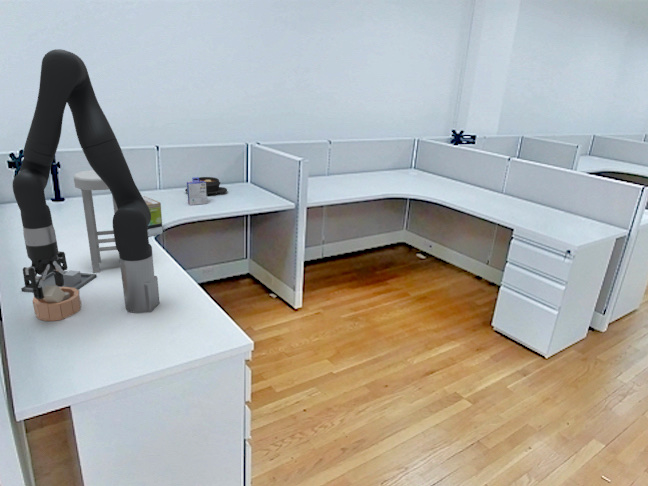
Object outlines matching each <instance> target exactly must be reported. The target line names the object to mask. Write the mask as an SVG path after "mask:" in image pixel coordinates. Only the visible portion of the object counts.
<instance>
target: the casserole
mask: <svg viewBox="0 0 648 486" xmlns="http://www.w3.org/2000/svg"><path fill="white" fill-rule="evenodd" d="M193 180H198V179H193ZM199 181H205V182H206V195H207V196H210V195H216V194H221V193H222V194H223V193H225V192H227V191H228V189H227V188H226V187H223V186H220V184H221V182H220V180H219V178H218V177H212V176H211V177H210V176H201V177H199ZM184 190H185V192H186V193H187V188H185V189H184Z"/></svg>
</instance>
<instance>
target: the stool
mask: <svg viewBox="0 0 648 486" xmlns="http://www.w3.org/2000/svg"><path fill="white" fill-rule="evenodd" d="M73 183H74V187H75V188H76V189H79V190H81V196H82V197H81V198H82V204H83V212H84V219H85V225H86V231H87V239H88V247H89V252H90V259H91V261H90V262H91V267H92V274H98V273H101V265H100V264H101V263H102V259H101V252H110V251H118V250H117V248H116V245H114V246H113V245H112V246H100V245H99V244H107V243H108V244H109V243H115V238H114V237H112V238H111V237H109V238H100V239H99V236H105V235H114V231H113V229H111V230H101V231H99V230H98V229H97V223H96V222H97V220H96V215H95V207H94V199H93V193H92V192H93V191H107V190H110V189H109V188H108V186H107V185H106V184H105V183H104V181H103V180H102V179H101V178H100V177H99V176H98V175H97V174H96V172H95V171H94V170H93V169H91V170H90V169H89V170H82V171H79V172H76V173H74V176H73ZM111 197H112V205H113V215H114V214H115V212H116V211H117V210H118V208H117V205H116V202H115V200H114V197H113V195H112V194H111ZM97 230H98V231H97Z"/></svg>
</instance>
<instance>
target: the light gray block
mask: <svg viewBox="0 0 648 486" xmlns="http://www.w3.org/2000/svg"><path fill="white" fill-rule="evenodd" d="M67 271H68V272H66V273H65V274H63V278H64V284H65V287H72V288H73V287H74V286H76V285H77V284H79V283H80V282H82V281H81V274H80V273H81V271H80V270H67Z"/></svg>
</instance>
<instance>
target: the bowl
mask: <svg viewBox="0 0 648 486" xmlns="http://www.w3.org/2000/svg"><path fill="white" fill-rule="evenodd" d="M59 288H60V289H61V290H62V291H63V292H68V293H70V297H71V298H69V299H68V300H65V301H62V302H57V303H47V302H46V301H45V300H44V299H36V298H35V297H34V296H33V298H32V306H33V310H34V315H35V316H36V318H37V319H38V320H40V321H44V322H56V321H61V320H65V319H67V318H68V317H71V316H73V315H75V314H76V313H78V312H80V310H81V308H82V300H81V295H80V291H79V290H80V289H79V290H77V289H75V288H72V287H59Z"/></svg>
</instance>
